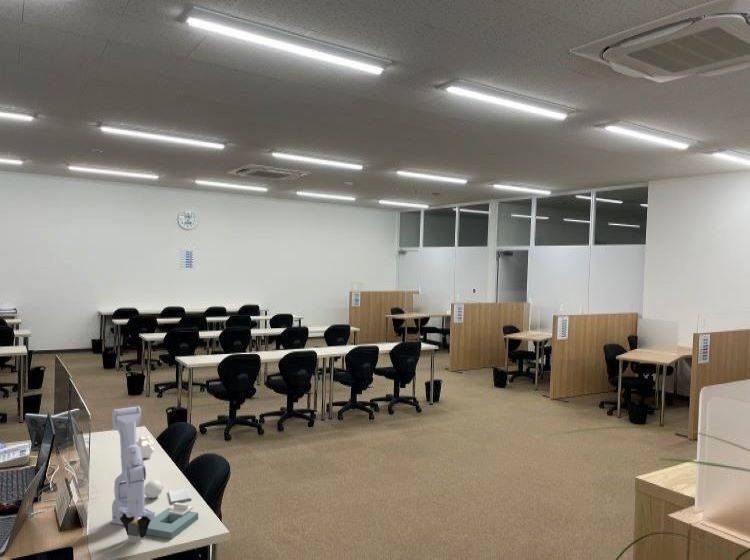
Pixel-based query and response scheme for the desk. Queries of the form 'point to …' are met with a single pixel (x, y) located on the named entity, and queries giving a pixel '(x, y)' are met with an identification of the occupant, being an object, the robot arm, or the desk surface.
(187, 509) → the plate
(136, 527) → the plug
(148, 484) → the white rounded ovoid
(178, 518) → the socket board
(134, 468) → the robot arm
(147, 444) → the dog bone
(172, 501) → the hard drive
